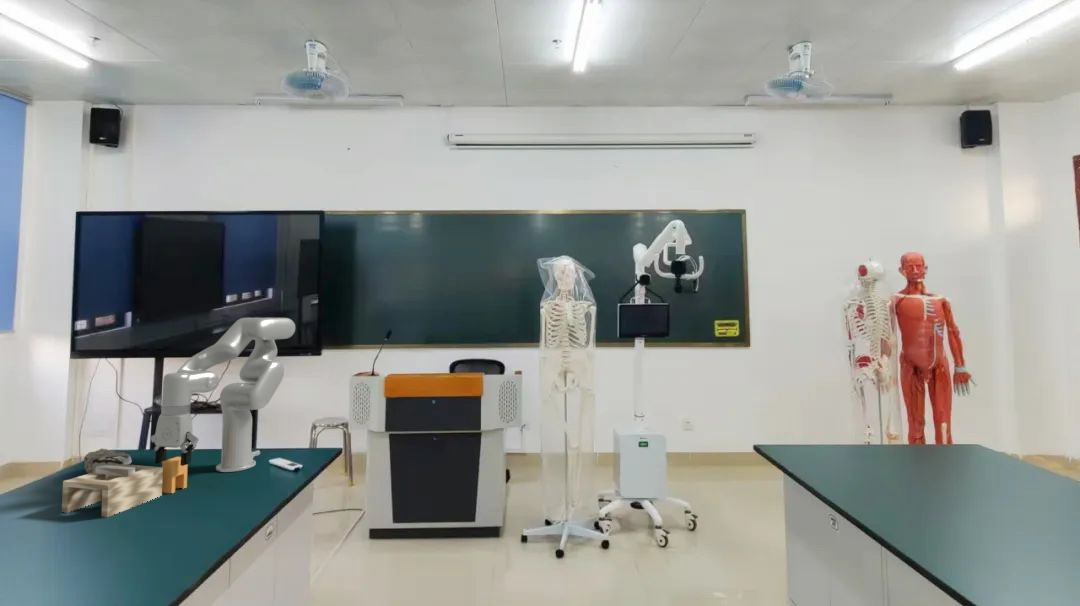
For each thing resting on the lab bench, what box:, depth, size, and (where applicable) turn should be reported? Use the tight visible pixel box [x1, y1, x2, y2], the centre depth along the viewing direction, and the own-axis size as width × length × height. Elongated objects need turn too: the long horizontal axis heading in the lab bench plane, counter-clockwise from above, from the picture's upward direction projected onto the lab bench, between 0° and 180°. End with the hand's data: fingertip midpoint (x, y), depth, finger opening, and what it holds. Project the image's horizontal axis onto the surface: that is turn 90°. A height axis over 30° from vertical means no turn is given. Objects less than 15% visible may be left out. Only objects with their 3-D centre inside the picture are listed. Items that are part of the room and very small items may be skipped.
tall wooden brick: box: [161, 456, 189, 494], centre depth 154 cm, size 5×4×10 cm
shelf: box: [61, 464, 163, 518], centre depth 142 cm, size 16×16×11 cm
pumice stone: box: [83, 448, 126, 474], centre depth 170 cm, size 14×12×8 cm
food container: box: [90, 453, 133, 473], centre depth 157 cm, size 12×6×10 cm, turn 84°
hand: (173, 463), depth 153 cm, fingers open, 9 cm apart
